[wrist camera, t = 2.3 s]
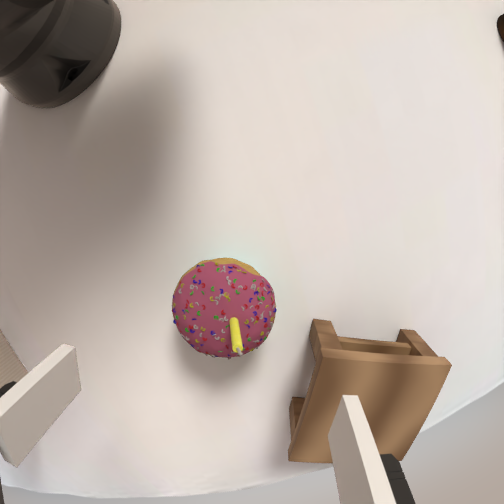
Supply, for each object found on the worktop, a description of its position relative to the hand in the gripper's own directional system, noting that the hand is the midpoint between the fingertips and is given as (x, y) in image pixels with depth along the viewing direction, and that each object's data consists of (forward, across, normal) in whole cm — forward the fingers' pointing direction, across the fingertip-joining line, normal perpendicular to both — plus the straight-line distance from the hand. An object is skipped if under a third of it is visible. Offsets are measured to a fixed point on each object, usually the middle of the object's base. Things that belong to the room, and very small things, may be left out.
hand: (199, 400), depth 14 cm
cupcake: (+17, 0, 0) cm, 17 cm away
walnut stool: (+17, +13, -8) cm, 23 cm away
